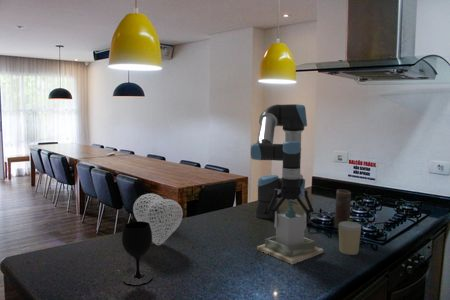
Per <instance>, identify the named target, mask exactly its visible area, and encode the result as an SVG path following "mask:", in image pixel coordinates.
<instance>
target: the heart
mask: <svg viewBox="0 0 450 300" xmlns="http://www.w3.org/2000/svg"><path fill="white" fill-rule="evenodd" d="M132 212H133V215H134V218H135V219H136V220H135V221H136V222H137V221H142V222H147V223H149V225H150V227H151V231H152V243H153V244H155V245H156V246H161V245H163V244H164V243H165V242H166V241H167V239H168V238H169V237H171V235H172V234H173V233H174V232H176V230H177V229H178V228H179V226H180V225H181V224H182V223H181V222H182V220H183V215H184V213H183V208H182V206H181V205H180V204H179V203H178V202H177V201H176V200H173V199H169V198H164V197H162V196H161V195H158V194H156V193H145V194H142V195H140V196H139V197H138V198H136V199H135V202H134V203H133V207H132ZM158 243H159V244H158Z"/></svg>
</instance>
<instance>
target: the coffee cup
mask: <svg viewBox="0 0 450 300" xmlns="http://www.w3.org/2000/svg"><path fill="white" fill-rule="evenodd" d="M338 226H339V234H338V243H339V246H338V247H339V252H340V253H342V254H345V255H350V256H351V255H353V256H354V255H358V253H359V249H360V242H361V233H362V230H361V229H362V225H361V224H360V223H359V222H356V221H355V222H354V221H350V222H349V221H344V222H340V223H339V225H338Z"/></svg>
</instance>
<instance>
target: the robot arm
mask: <svg viewBox="0 0 450 300" xmlns="http://www.w3.org/2000/svg"><path fill="white" fill-rule="evenodd" d="M306 112H307V111H306V107H305V105H304V104H294V103H293V104H289V103H288V104H273V105H271V106H269V107H267V108H266V109H264V110H263V112H262V113H261V114H260V116H259V120H258V123H259V131H258V134H257V141H256V143H255V142H254V143H252V144H250V159H251V160H254V161H282V168H281V169H282V173H281V174H282V175H281V177H279V175H277V174H268V175H263V176H260V177H259V178H258V179H257V202H256V207H255V209H254V216H255V217H257V218H259V219H262V220H263V219H266V220H273V221H274V228H275V229H276V228H277V214H280V213H282V212H281V210H280V207H281V205H282V204H283V203H284V202H285V200H286V201H287V200H291V201H295V200H296V201H297V203H298V204H299V205H300V206H301V208H302V209H303V210H304V212H303V216H305V220H304V230H307V222H309V221H310V214H311V213H314V212H315V211H314V208H313V206H312V204H311V200H310V198H309V195H308V193H309V192H308V190H307V189H306V188H305V187H306V178H303V177H304V176H303V174H302V173H301V163H302V162H301V161H302V160H301V157H302V133H303V131H305V128H306V127H308V120H307V113H306ZM276 127H282V131H284V135H285V136H284V137H285V138H284V142H283V143H274V136H275V128H276ZM303 197H304V198H305V201H306V203H307V206H308V208H307V206H306V205H305V204H304V202H303V201H302V200H301V199H303ZM278 199H279V200H278Z"/></svg>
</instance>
